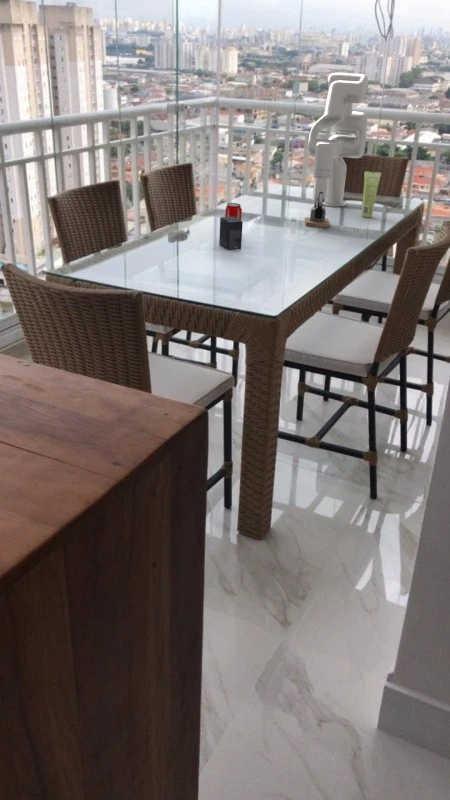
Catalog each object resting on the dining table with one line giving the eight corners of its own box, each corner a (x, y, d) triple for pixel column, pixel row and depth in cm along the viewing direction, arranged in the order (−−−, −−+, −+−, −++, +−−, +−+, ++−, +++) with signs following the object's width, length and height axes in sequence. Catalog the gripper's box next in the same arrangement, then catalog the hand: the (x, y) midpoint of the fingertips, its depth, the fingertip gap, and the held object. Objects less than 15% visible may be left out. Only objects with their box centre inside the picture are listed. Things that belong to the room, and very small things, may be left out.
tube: (366, 214, 322) (372, 170, 313) (375, 216, 319) (381, 172, 310) (358, 215, 319) (364, 171, 310) (367, 218, 316) (373, 173, 307)
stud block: (304, 220, 305) (305, 208, 303) (327, 221, 305) (329, 210, 303) (305, 226, 297) (306, 213, 294) (329, 227, 296) (330, 215, 294)
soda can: (242, 234, 279) (244, 204, 273) (236, 238, 273) (238, 207, 268) (228, 232, 281) (229, 202, 275) (221, 235, 276) (223, 204, 270)
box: (241, 249, 259) (243, 220, 254) (227, 250, 257) (229, 221, 252) (232, 244, 265) (233, 216, 261) (218, 245, 263) (219, 216, 258)
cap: (309, 218, 303) (310, 206, 301) (324, 219, 303) (325, 207, 301) (310, 221, 298) (311, 209, 295) (324, 222, 297) (326, 210, 295)
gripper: (312, 169, 299) (307, 211, 307) (314, 176, 284) (309, 220, 292) (329, 170, 299) (325, 212, 307) (332, 177, 283) (327, 221, 291)
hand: (317, 215), depth 299 cm, fingers open, 7 cm apart
